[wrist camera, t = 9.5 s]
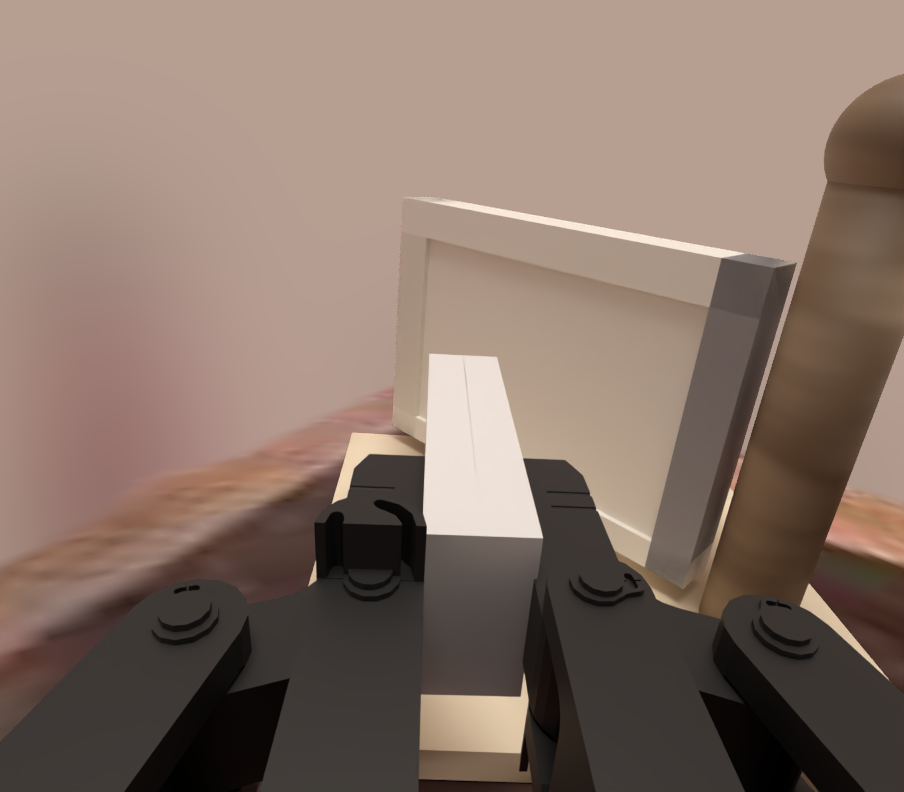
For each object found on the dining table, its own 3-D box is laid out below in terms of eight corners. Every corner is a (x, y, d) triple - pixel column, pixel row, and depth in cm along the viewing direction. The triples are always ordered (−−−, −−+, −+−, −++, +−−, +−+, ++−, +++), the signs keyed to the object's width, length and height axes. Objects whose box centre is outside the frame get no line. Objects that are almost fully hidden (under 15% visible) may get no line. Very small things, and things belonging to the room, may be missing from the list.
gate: (706, 567, 24) (796, 262, 20) (683, 589, 23) (774, 267, 18) (419, 416, 35) (433, 196, 30) (392, 425, 34) (402, 197, 29)
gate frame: (697, 472, 36) (795, 107, 28) (946, 796, 18) (1381, 62, 11) (352, 451, 35) (358, 67, 27) (264, 773, 17) (215, -54, 10)
